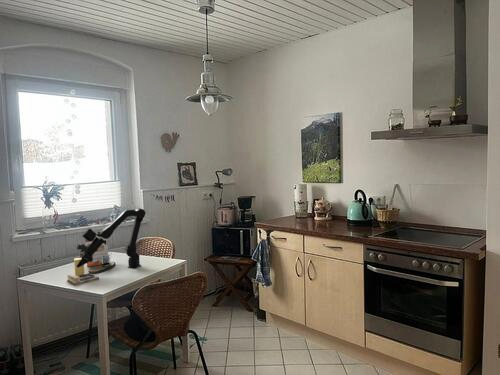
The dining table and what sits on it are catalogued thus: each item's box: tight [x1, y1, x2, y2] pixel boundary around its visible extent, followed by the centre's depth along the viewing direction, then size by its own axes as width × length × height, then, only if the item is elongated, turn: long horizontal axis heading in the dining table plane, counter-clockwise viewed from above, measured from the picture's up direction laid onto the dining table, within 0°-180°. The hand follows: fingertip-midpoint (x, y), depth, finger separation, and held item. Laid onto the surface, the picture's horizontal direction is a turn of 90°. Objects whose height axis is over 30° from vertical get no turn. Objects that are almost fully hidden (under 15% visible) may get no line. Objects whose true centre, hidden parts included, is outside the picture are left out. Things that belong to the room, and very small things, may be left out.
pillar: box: [73, 257, 86, 276], centre depth 231 cm, size 5×5×11 cm
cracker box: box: [84, 235, 109, 267], centre depth 257 cm, size 14×6×21 cm, turn 112°
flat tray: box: [66, 273, 100, 286], centre depth 223 cm, size 14×12×4 cm
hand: (76, 266), depth 231 cm, fingers closed on pillar, 5 cm apart
